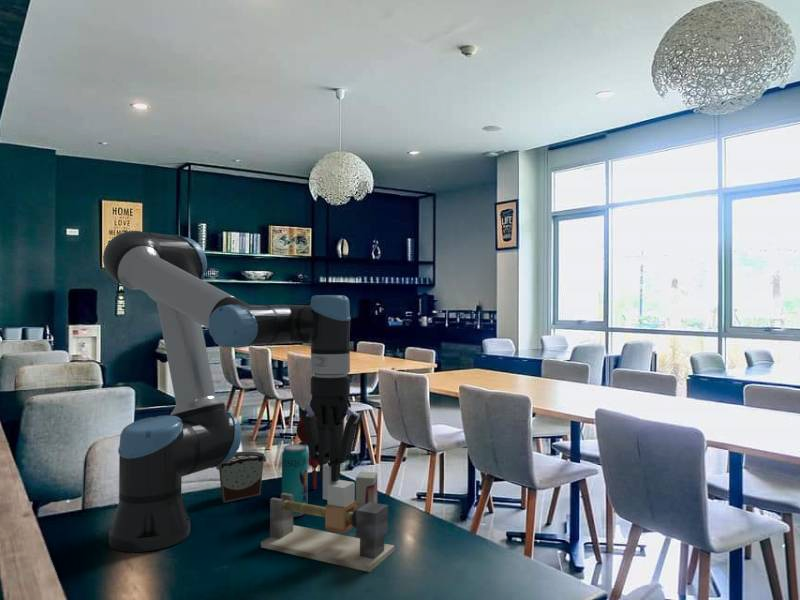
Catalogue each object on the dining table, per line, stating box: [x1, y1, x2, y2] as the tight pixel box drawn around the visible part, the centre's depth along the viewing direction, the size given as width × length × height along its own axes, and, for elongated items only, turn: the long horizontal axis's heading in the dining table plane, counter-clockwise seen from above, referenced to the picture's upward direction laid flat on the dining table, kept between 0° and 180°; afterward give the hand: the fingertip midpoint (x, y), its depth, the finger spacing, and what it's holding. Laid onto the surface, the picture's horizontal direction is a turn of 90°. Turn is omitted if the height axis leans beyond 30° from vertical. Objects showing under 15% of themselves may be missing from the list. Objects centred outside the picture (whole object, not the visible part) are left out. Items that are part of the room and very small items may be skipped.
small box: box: [355, 471, 378, 509], centre depth 137 cm, size 5×4×8 cm
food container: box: [215, 451, 267, 504], centre depth 146 cm, size 12×6×10 cm, turn 130°
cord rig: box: [260, 492, 396, 573], centre depth 114 cm, size 24×10×10 cm, turn 64°
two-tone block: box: [324, 479, 357, 535], centre depth 113 cm, size 4×5×8 cm
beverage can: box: [281, 443, 309, 518], centre depth 133 cm, size 6×6×15 cm
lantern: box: [296, 415, 320, 490], centre depth 151 cm, size 10×10×30 cm
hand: (329, 497), depth 114 cm, fingers closed
